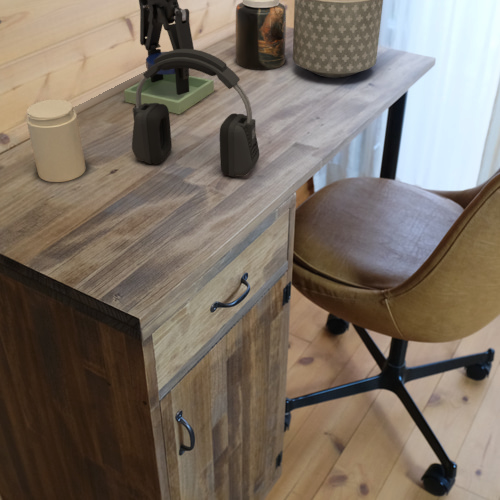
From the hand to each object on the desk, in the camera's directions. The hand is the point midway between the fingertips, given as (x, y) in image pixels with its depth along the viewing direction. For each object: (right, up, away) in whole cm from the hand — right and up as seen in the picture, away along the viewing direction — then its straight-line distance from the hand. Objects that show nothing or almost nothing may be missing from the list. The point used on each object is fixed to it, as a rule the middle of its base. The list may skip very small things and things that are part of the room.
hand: (169, 86), depth 137 cm
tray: (0, -2, +1) cm, 2 cm away
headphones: (+7, -20, -23) cm, 31 cm away
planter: (+36, +7, +13) cm, 39 cm away
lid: (0, +5, -3) cm, 6 cm away
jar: (+19, +11, +19) cm, 29 cm away
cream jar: (-16, -21, -25) cm, 36 cm away
